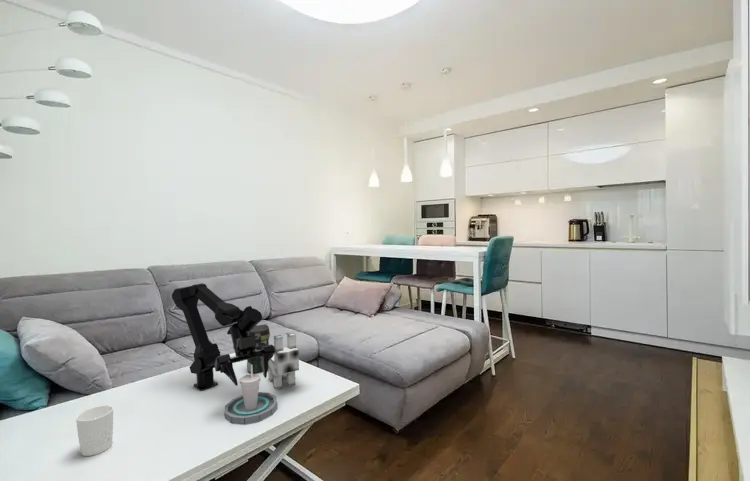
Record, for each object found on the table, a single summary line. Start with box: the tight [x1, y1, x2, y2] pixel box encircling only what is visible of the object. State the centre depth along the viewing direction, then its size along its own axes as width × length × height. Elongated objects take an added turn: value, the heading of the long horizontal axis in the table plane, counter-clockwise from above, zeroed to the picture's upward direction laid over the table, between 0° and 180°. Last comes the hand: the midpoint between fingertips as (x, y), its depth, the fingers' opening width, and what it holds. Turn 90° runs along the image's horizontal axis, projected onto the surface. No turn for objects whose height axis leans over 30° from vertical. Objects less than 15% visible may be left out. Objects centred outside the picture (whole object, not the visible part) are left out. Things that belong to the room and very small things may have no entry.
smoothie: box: [239, 364, 261, 410], centre depth 114 cm, size 6×6×14 cm
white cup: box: [75, 405, 114, 457], centre depth 95 cm, size 8×8×10 cm
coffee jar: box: [246, 323, 271, 374], centre depth 146 cm, size 10×8×19 cm
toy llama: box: [267, 332, 300, 391], centre depth 132 cm, size 8×18×20 cm, turn 31°
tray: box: [223, 391, 278, 425], centre depth 114 cm, size 16×16×2 cm
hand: (251, 381), depth 112 cm, fingers open, 9 cm apart
